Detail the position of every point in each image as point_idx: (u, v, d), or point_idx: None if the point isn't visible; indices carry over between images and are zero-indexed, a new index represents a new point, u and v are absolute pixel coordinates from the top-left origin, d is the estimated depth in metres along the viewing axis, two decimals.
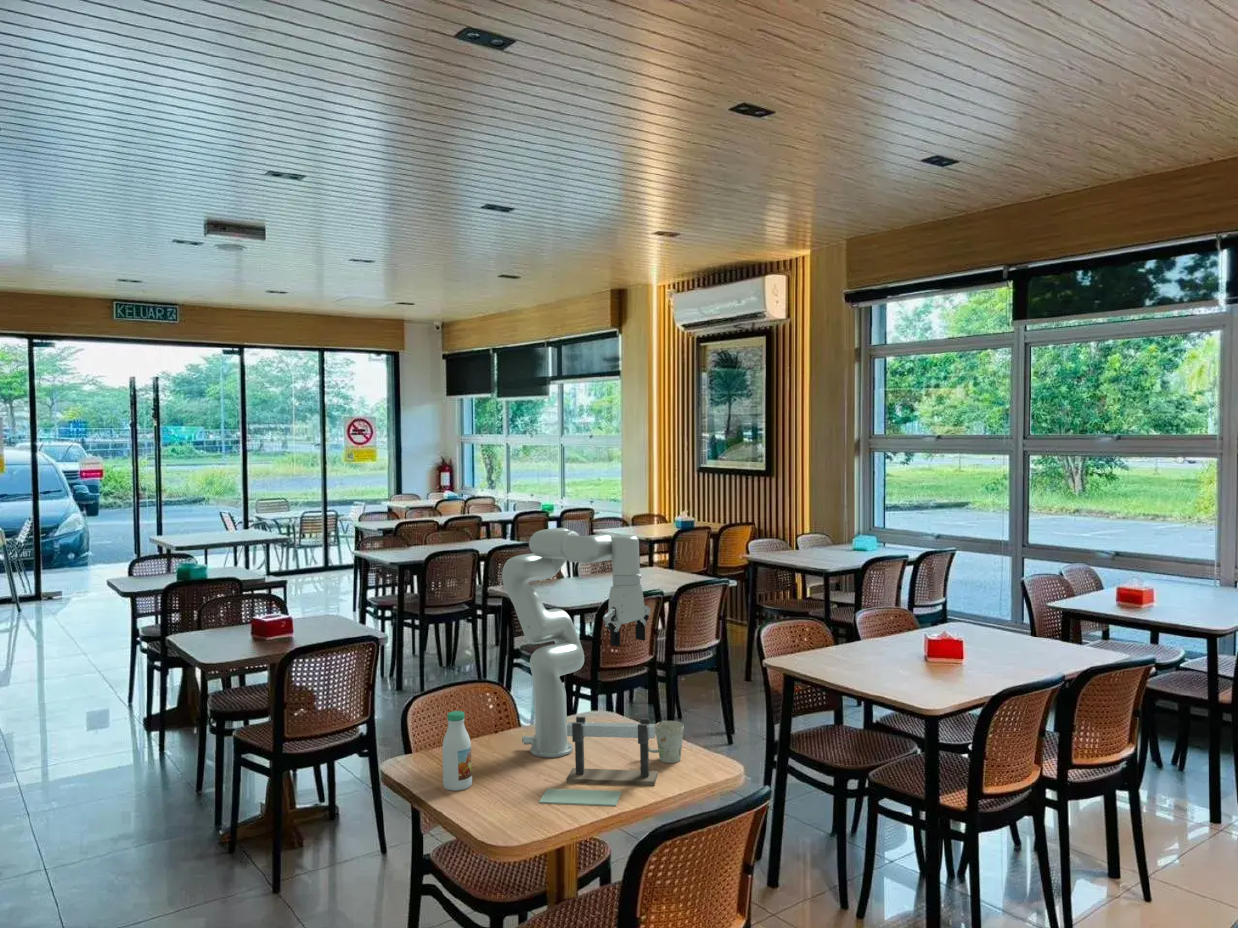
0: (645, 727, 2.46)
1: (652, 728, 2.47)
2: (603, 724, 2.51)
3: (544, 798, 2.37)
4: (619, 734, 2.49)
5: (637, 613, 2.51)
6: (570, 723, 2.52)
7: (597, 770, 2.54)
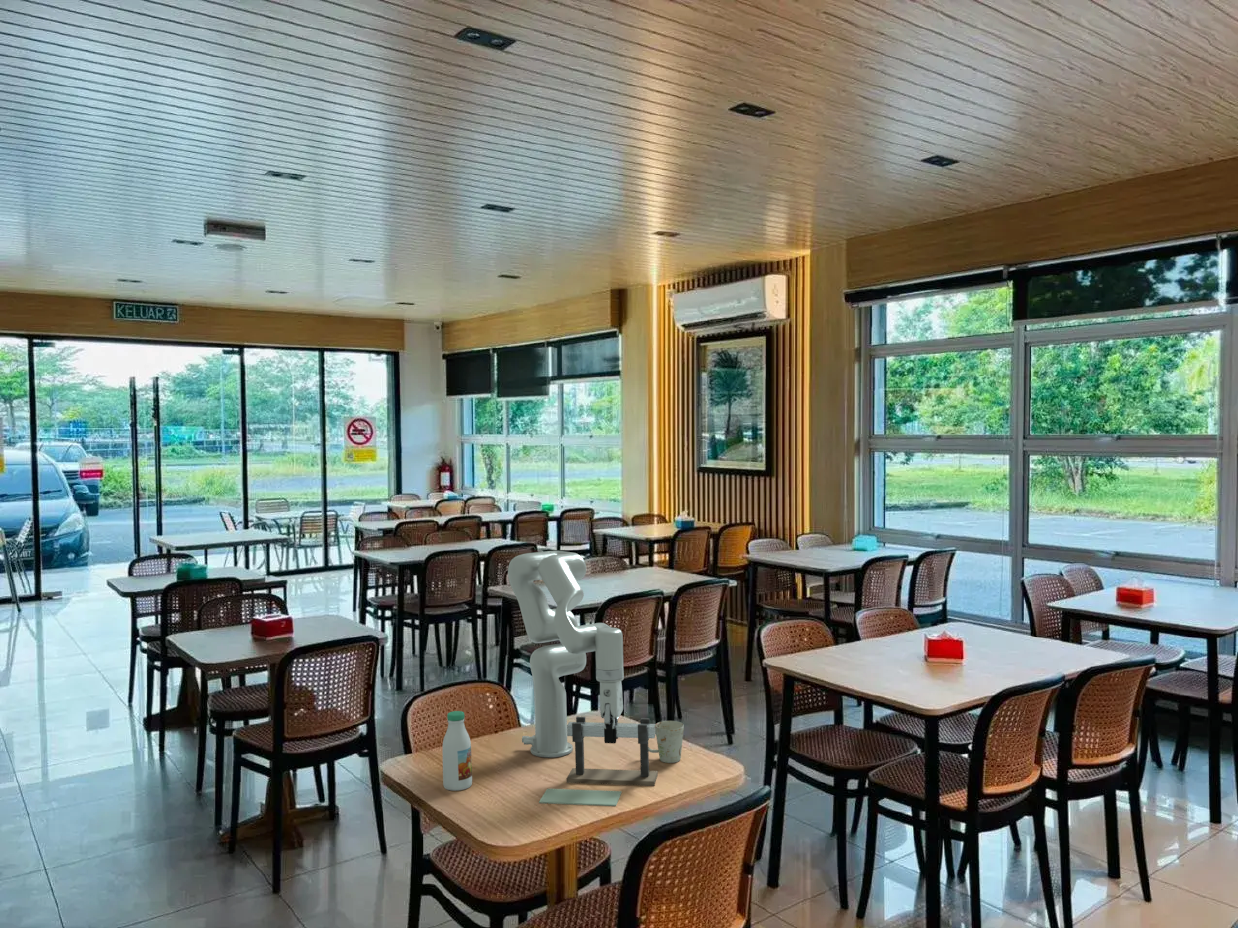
0: (645, 727, 2.46)
1: (652, 728, 2.47)
2: (603, 724, 2.51)
3: (544, 798, 2.37)
4: (619, 734, 2.49)
5: None
6: (570, 723, 2.52)
7: (597, 770, 2.54)
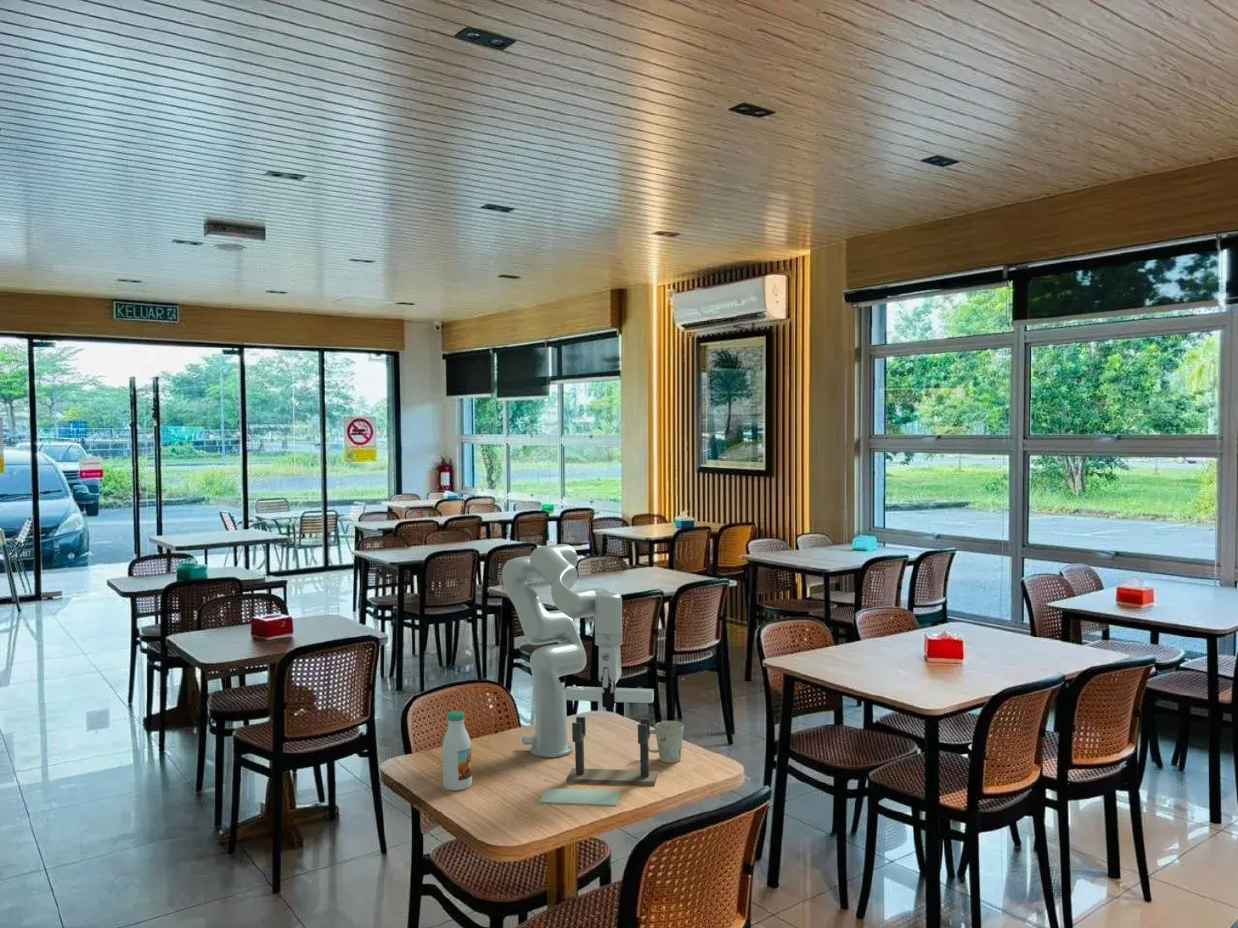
0: (645, 727, 2.46)
1: (651, 692, 2.47)
2: (601, 689, 2.51)
3: (544, 798, 2.37)
4: (617, 699, 2.49)
5: None
6: (568, 687, 2.52)
7: (597, 770, 2.54)
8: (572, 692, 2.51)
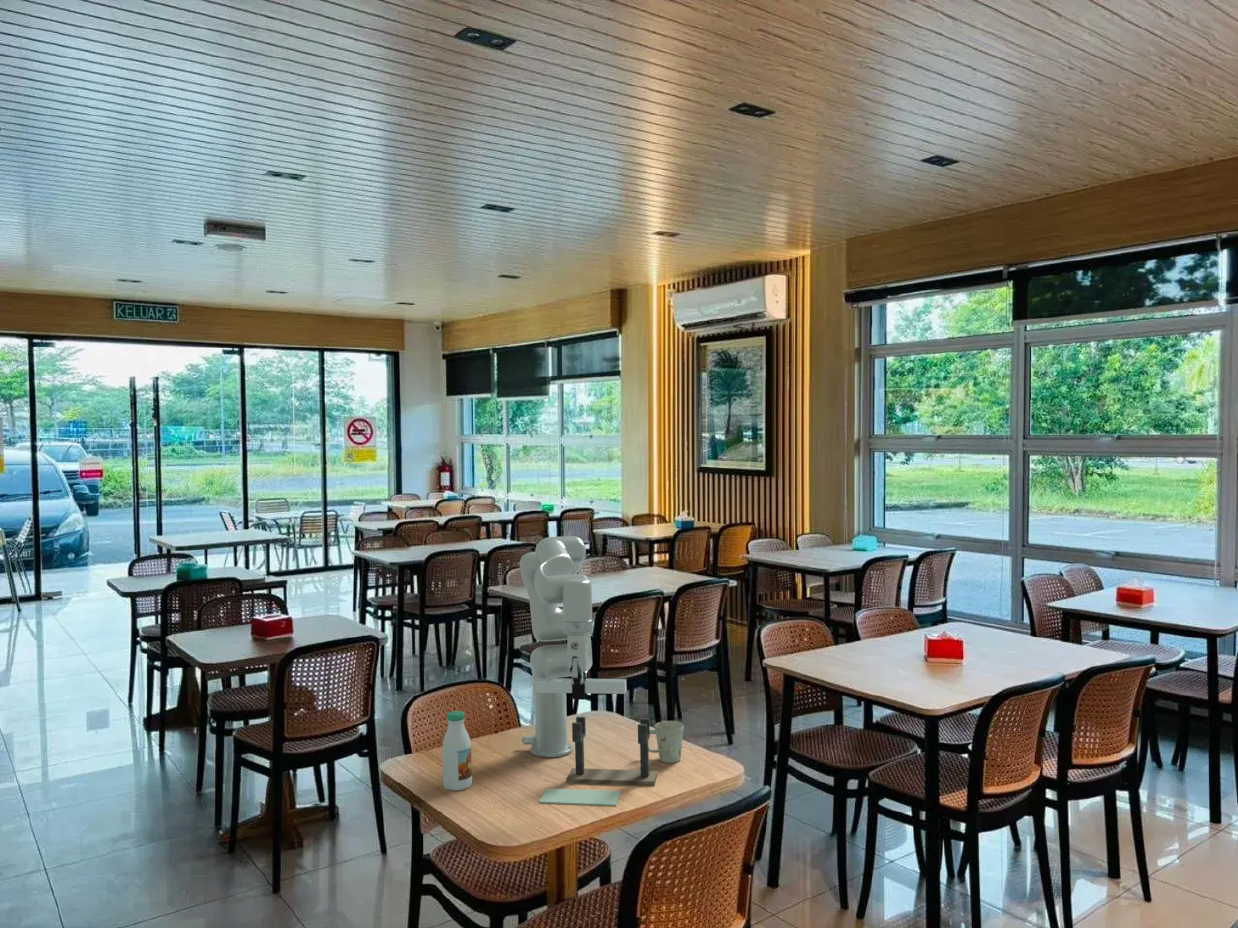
0: (645, 727, 2.46)
1: (623, 682, 2.35)
2: (571, 680, 2.38)
3: (544, 798, 2.37)
4: (588, 690, 2.36)
5: None
6: (537, 679, 2.40)
7: (597, 770, 2.54)
8: (540, 684, 2.38)
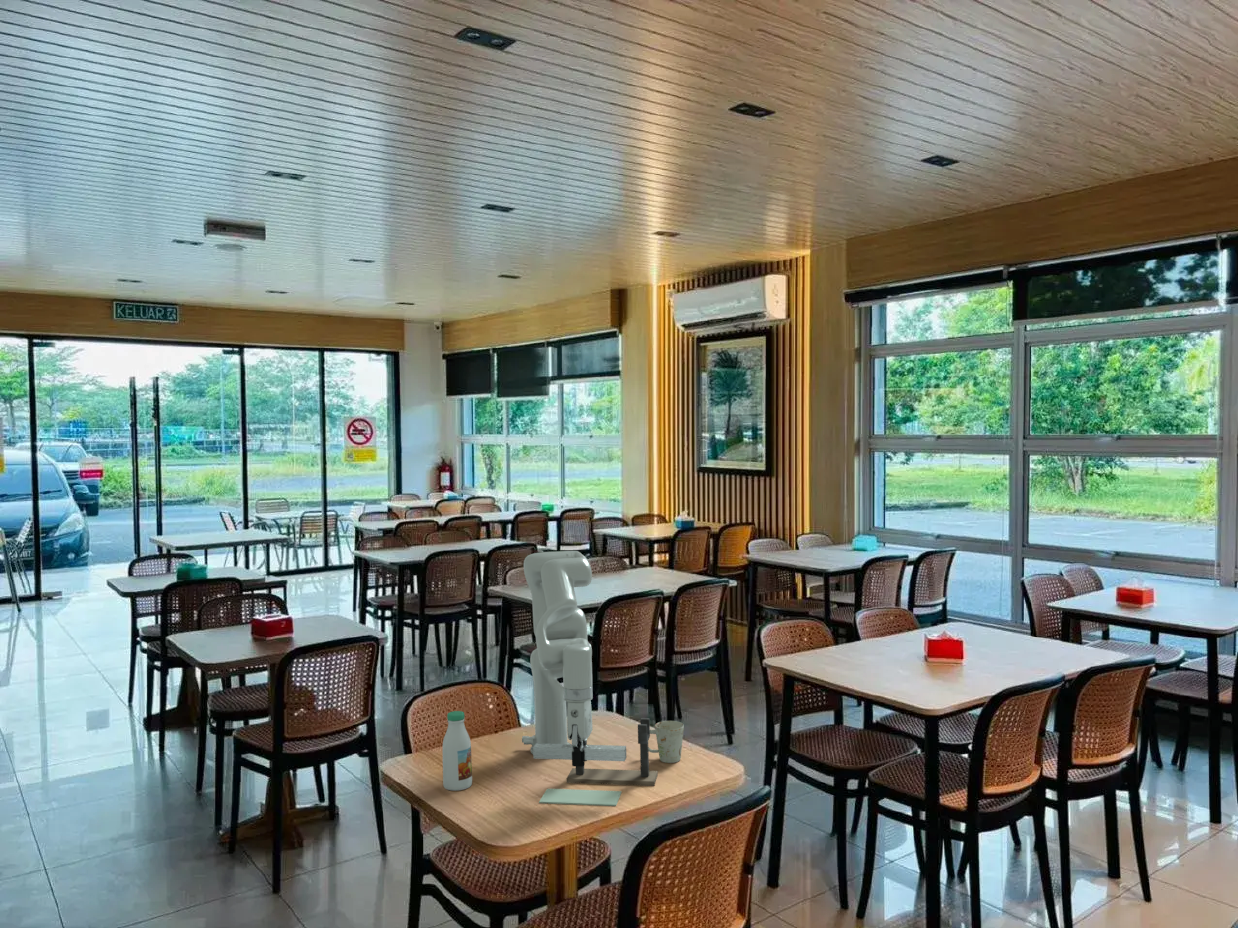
0: (645, 727, 2.46)
1: (623, 750, 2.34)
2: (571, 746, 2.38)
3: (544, 798, 2.37)
4: (588, 757, 2.36)
5: None
6: (537, 745, 2.40)
7: (597, 770, 2.54)
8: (540, 750, 2.38)
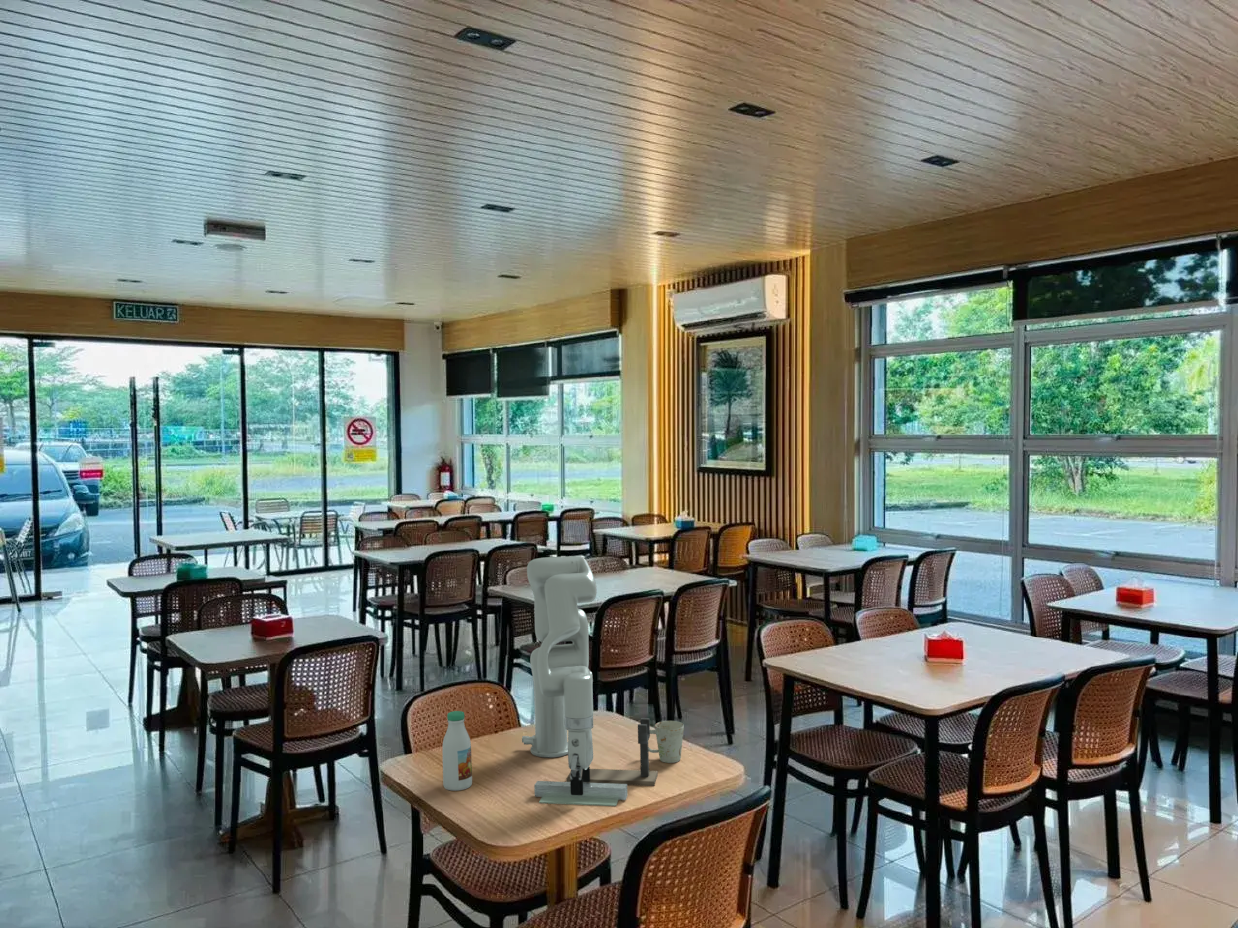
0: (645, 727, 2.46)
1: (624, 789, 2.35)
2: None
3: (544, 798, 2.37)
4: (589, 795, 2.36)
5: None
6: (538, 782, 2.40)
7: (597, 770, 2.54)
8: (541, 788, 2.38)
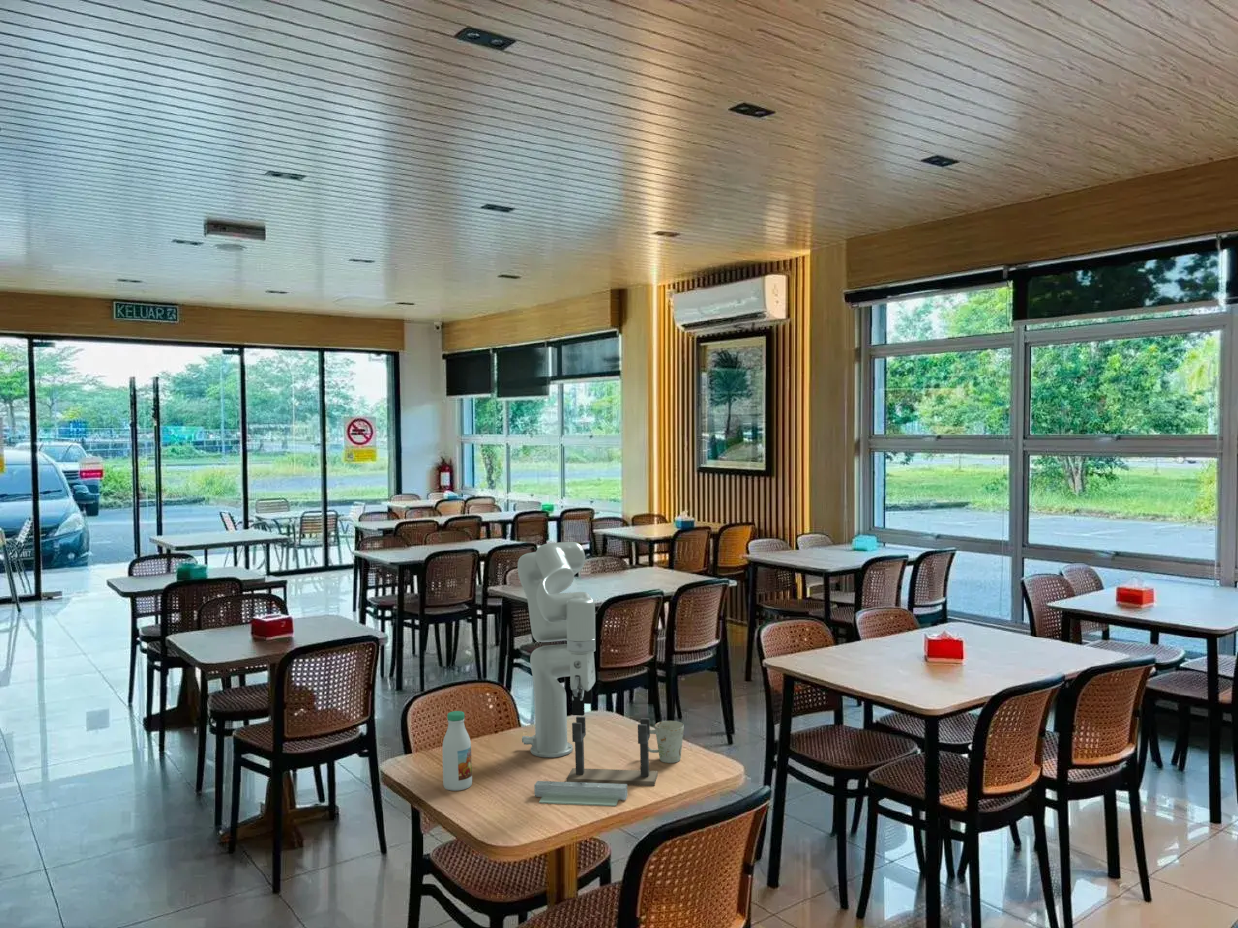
0: (645, 727, 2.46)
1: (624, 789, 2.35)
2: (572, 784, 2.38)
3: (544, 798, 2.37)
4: (589, 795, 2.36)
5: None
6: (538, 782, 2.40)
7: (597, 770, 2.54)
8: (541, 788, 2.38)
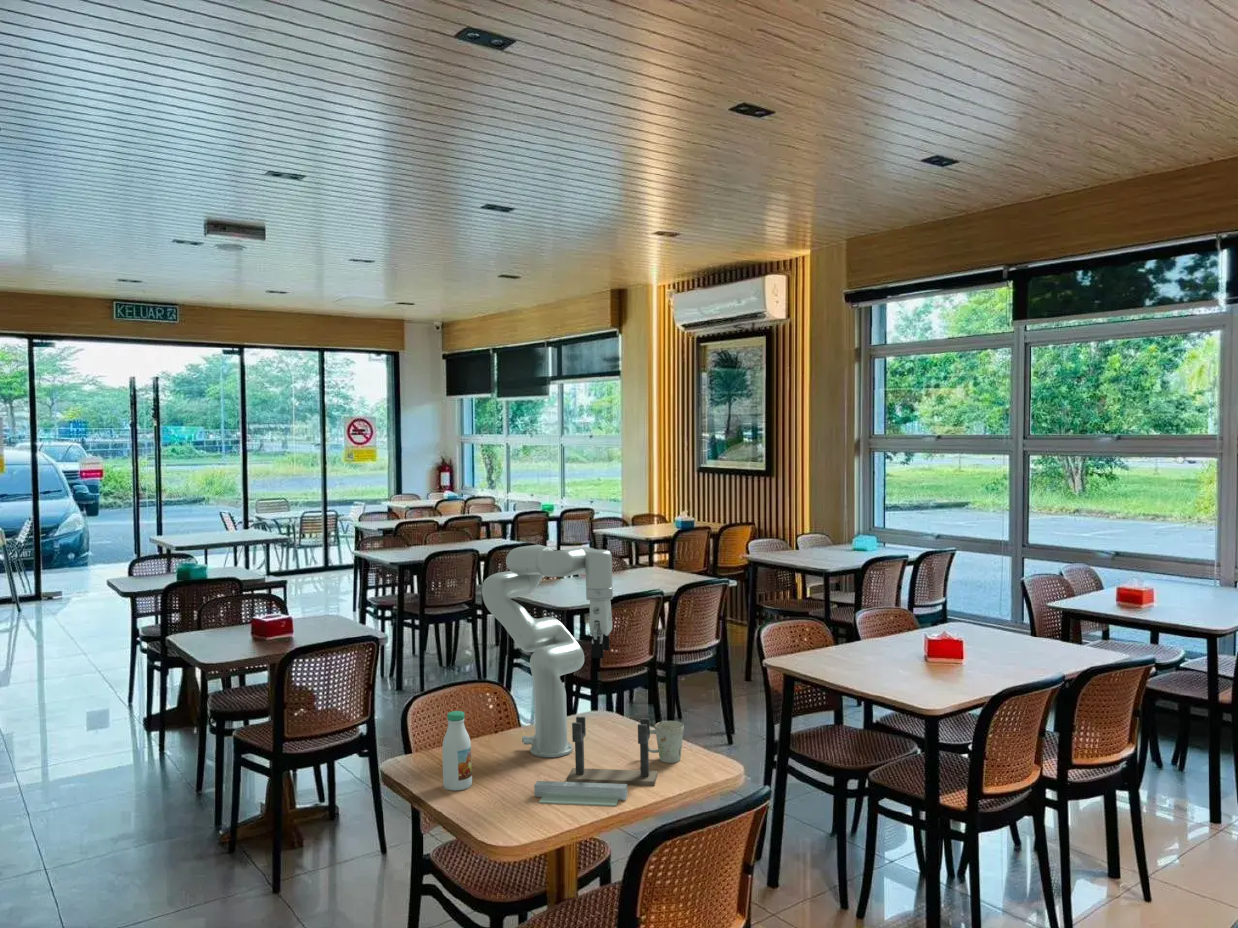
0: (645, 727, 2.46)
1: (624, 789, 2.35)
2: (572, 784, 2.38)
3: (544, 798, 2.37)
4: (589, 795, 2.36)
5: None
6: (538, 782, 2.40)
7: (597, 770, 2.54)
8: (541, 788, 2.38)
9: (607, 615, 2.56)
